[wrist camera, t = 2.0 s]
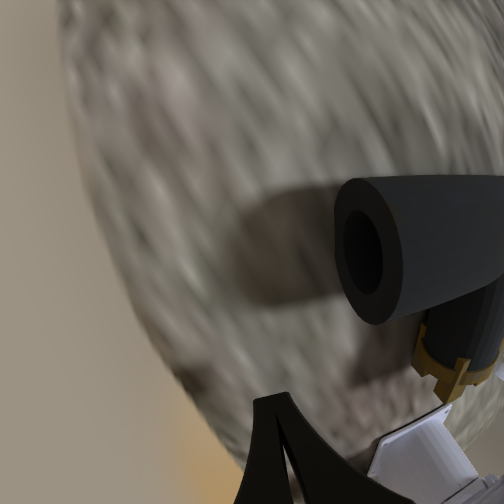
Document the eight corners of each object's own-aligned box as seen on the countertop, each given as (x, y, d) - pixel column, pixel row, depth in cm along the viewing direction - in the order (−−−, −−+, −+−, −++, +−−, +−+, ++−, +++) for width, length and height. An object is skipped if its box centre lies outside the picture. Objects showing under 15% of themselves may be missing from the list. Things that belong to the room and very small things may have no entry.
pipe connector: (532, 350, 11) (362, 455, 10) (490, 318, 16) (327, 384, 15) (571, 187, 7) (411, 189, 6) (513, 172, 12) (328, 172, 11)
